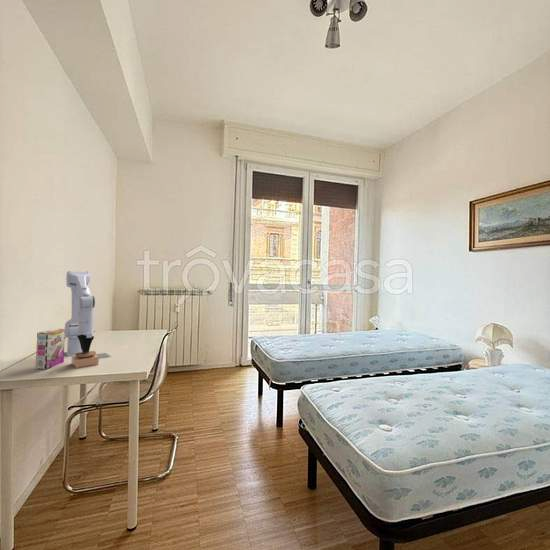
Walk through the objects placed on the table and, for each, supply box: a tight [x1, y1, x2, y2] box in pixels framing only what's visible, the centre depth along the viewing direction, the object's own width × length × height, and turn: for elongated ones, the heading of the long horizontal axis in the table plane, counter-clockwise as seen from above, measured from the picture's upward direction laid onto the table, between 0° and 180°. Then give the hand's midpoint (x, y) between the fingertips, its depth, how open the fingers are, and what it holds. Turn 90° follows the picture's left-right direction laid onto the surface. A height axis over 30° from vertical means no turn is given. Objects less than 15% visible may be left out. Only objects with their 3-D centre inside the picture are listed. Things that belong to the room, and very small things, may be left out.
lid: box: [75, 348, 97, 357], centre depth 141 cm, size 8×8×4 cm
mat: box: [96, 352, 112, 360], centre depth 154 cm, size 10×10×1 cm
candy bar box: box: [35, 328, 66, 370], centre depth 138 cm, size 11×5×16 cm, turn 178°
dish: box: [71, 354, 100, 369], centre depth 140 cm, size 9×9×4 cm
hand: (85, 350), depth 140 cm, fingers closed on lid, 3 cm apart
